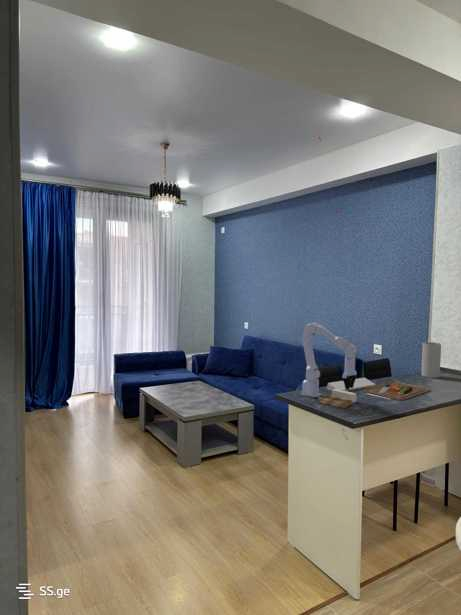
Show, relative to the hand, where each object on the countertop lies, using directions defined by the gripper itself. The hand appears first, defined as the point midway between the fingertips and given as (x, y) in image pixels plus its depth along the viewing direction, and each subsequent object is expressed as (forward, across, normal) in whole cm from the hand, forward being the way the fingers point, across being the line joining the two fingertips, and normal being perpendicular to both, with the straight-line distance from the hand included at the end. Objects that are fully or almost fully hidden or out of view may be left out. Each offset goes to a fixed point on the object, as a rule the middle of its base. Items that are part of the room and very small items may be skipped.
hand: (349, 388), depth 237 cm
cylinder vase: (+8, +106, -17) cm, 108 cm away
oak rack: (+7, -11, +4) cm, 14 cm away
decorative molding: (+8, +30, +12) cm, 34 cm away
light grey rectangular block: (+8, 0, +3) cm, 8 cm away
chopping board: (+8, +43, -13) cm, 46 cm away
